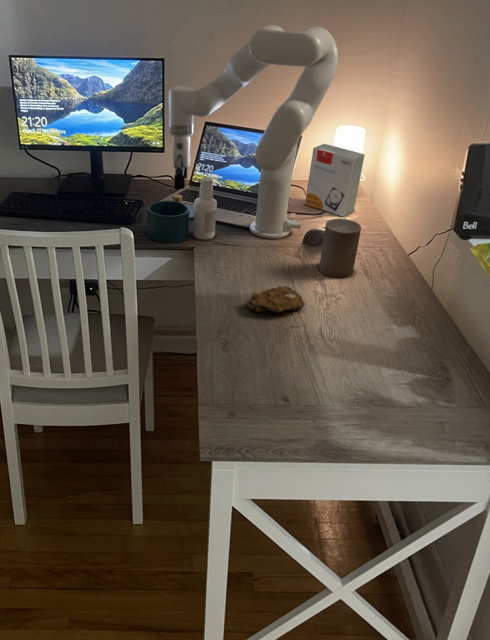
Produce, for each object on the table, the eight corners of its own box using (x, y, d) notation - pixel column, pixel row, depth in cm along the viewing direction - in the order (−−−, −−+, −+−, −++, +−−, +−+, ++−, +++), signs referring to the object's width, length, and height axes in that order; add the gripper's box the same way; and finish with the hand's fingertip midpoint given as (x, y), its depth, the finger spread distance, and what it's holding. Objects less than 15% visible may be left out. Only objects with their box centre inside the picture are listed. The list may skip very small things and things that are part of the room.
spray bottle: (214, 240, 207) (218, 183, 197) (192, 239, 207) (195, 182, 197) (214, 231, 213) (218, 175, 203) (192, 230, 213) (195, 174, 203)
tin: (189, 227, 215) (190, 202, 210) (186, 244, 204) (187, 217, 199) (150, 225, 215) (150, 199, 211) (145, 241, 205) (145, 214, 200)
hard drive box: (303, 205, 234) (311, 147, 224) (315, 199, 239) (323, 142, 229) (343, 217, 226) (354, 158, 215) (355, 211, 231) (365, 153, 220)
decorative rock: (264, 326, 166) (310, 313, 173) (267, 312, 164) (313, 299, 171) (237, 303, 174) (282, 292, 181) (239, 289, 171) (285, 278, 179)
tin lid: (198, 207, 229) (199, 190, 226) (196, 223, 218) (197, 205, 214) (158, 204, 230) (159, 187, 227) (154, 220, 218) (154, 202, 215)
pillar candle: (359, 270, 193) (369, 221, 185) (341, 281, 187) (350, 231, 179) (330, 259, 198) (338, 211, 190) (311, 269, 192) (319, 220, 184)
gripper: (191, 137, 201) (190, 192, 210) (195, 122, 216) (194, 174, 225) (166, 136, 202) (166, 192, 211) (171, 121, 216) (171, 174, 225)
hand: (180, 183), depth 218 cm, fingers open, 9 cm apart
